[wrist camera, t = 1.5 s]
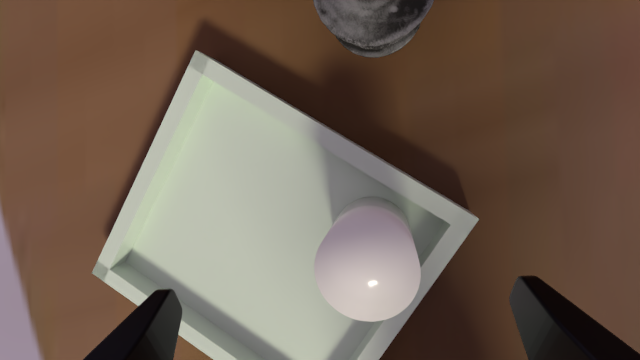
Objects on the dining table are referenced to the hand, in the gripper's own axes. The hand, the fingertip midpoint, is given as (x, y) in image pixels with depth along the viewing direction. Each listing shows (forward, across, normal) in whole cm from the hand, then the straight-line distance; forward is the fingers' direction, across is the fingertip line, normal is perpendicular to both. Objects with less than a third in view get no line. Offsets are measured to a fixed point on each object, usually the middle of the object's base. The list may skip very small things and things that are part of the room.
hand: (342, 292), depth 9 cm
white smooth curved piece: (+9, -2, +6) cm, 11 cm away
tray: (+10, +4, +8) cm, 14 cm away
